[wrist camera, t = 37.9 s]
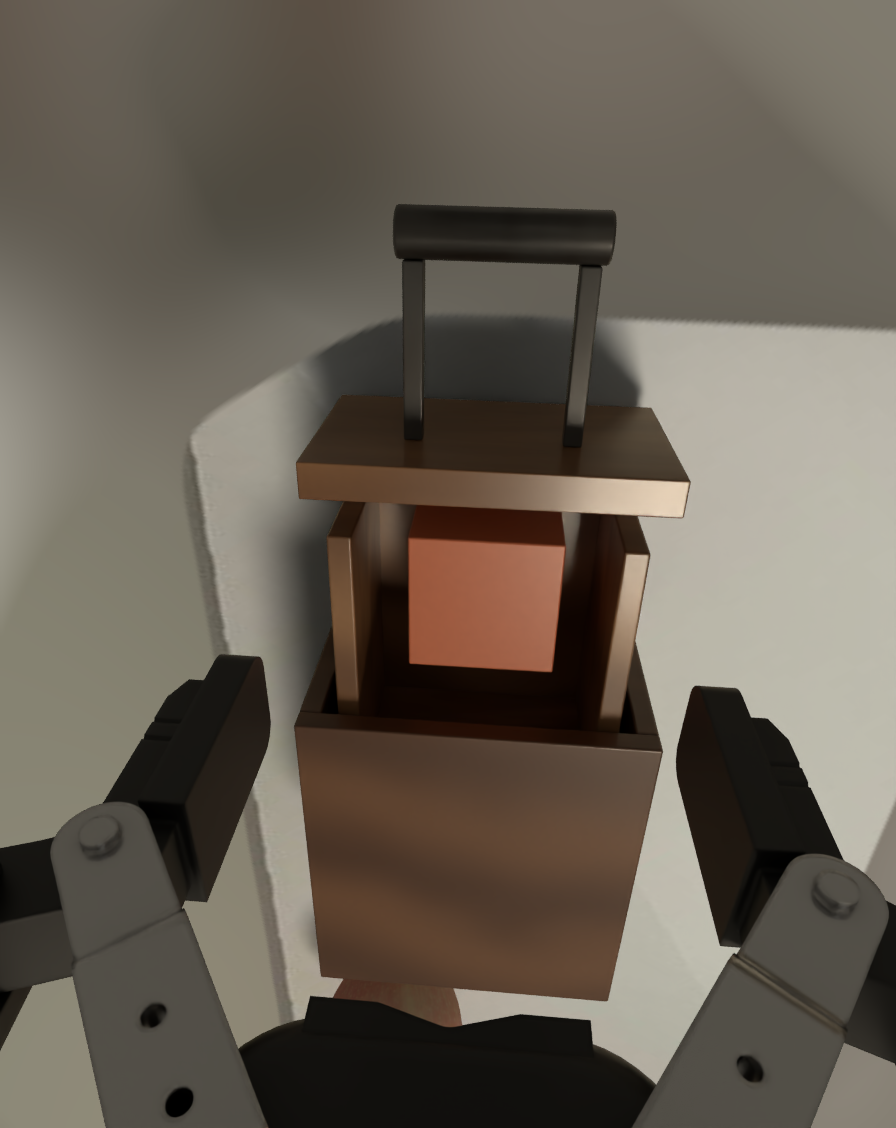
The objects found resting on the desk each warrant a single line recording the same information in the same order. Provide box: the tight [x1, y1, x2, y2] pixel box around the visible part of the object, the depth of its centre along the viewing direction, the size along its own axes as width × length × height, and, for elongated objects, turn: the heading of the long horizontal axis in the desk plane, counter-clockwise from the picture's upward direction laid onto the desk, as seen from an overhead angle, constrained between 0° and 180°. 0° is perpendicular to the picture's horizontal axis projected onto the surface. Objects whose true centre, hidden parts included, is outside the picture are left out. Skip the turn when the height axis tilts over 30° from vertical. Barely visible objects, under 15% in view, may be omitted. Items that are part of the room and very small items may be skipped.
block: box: [408, 505, 566, 672], centre depth 27 cm, size 5×5×5 cm
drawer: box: [296, 204, 691, 733], centre depth 26 cm, size 20×11×7 cm, turn 179°
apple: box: [333, 979, 462, 1027], centre depth 43 cm, size 8×8×8 cm
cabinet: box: [294, 626, 663, 1001], centre depth 32 cm, size 15×13×9 cm
